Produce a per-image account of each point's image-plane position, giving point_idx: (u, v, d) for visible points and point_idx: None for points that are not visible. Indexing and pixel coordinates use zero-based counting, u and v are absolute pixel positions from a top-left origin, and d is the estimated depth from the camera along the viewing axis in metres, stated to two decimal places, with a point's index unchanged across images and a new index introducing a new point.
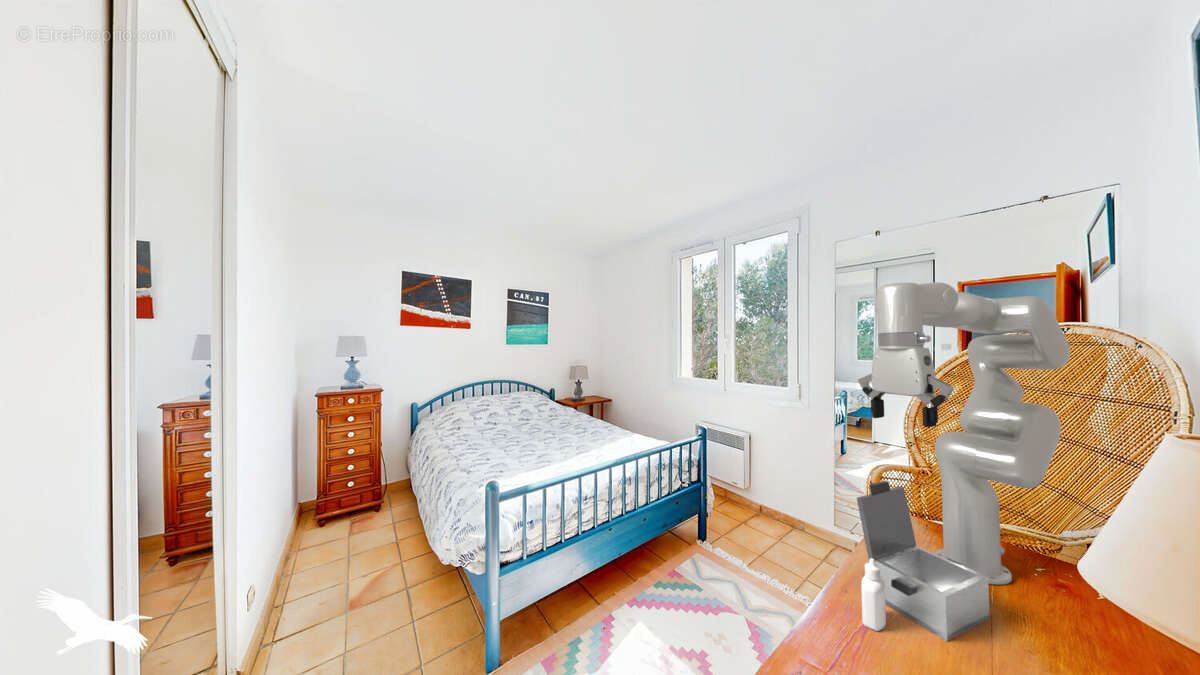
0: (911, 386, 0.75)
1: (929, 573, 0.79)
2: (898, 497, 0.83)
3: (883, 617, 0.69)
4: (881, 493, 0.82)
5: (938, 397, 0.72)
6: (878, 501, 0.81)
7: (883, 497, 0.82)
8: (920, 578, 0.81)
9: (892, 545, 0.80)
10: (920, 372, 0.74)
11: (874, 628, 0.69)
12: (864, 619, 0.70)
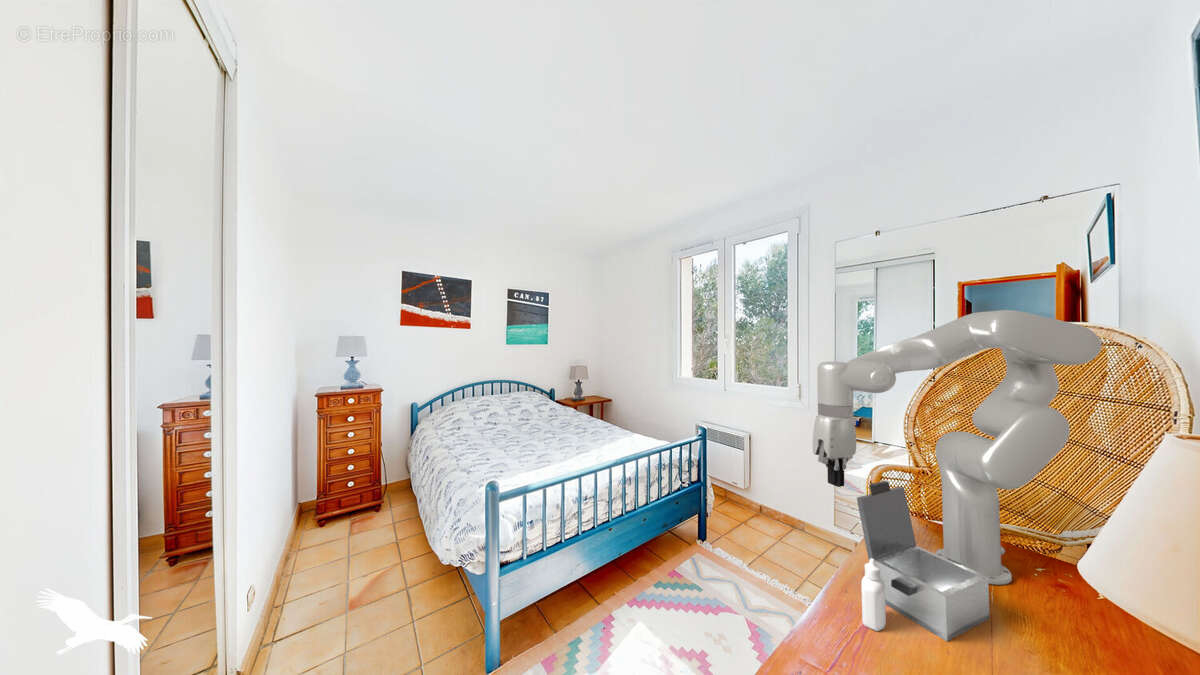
0: (852, 448, 0.91)
1: (929, 573, 0.79)
2: (898, 497, 0.83)
3: (883, 617, 0.69)
4: (881, 493, 0.82)
5: None
6: (878, 501, 0.81)
7: (883, 497, 0.82)
8: (920, 578, 0.81)
9: (892, 545, 0.80)
10: (855, 436, 0.92)
11: (874, 628, 0.69)
12: (864, 619, 0.70)
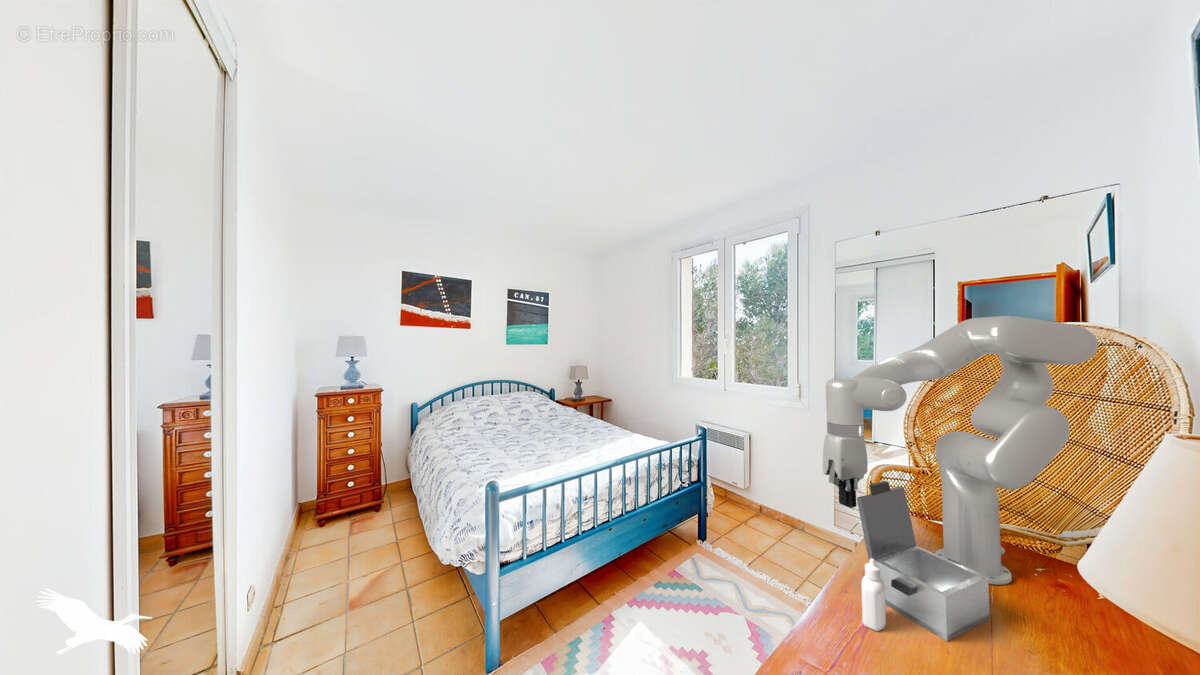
0: (863, 468, 0.89)
1: (929, 573, 0.79)
2: (898, 497, 0.83)
3: (883, 617, 0.69)
4: (881, 493, 0.82)
5: None
6: (878, 501, 0.81)
7: (883, 497, 0.82)
8: (920, 578, 0.81)
9: (892, 545, 0.80)
10: (866, 455, 0.90)
11: (874, 628, 0.69)
12: (864, 619, 0.70)
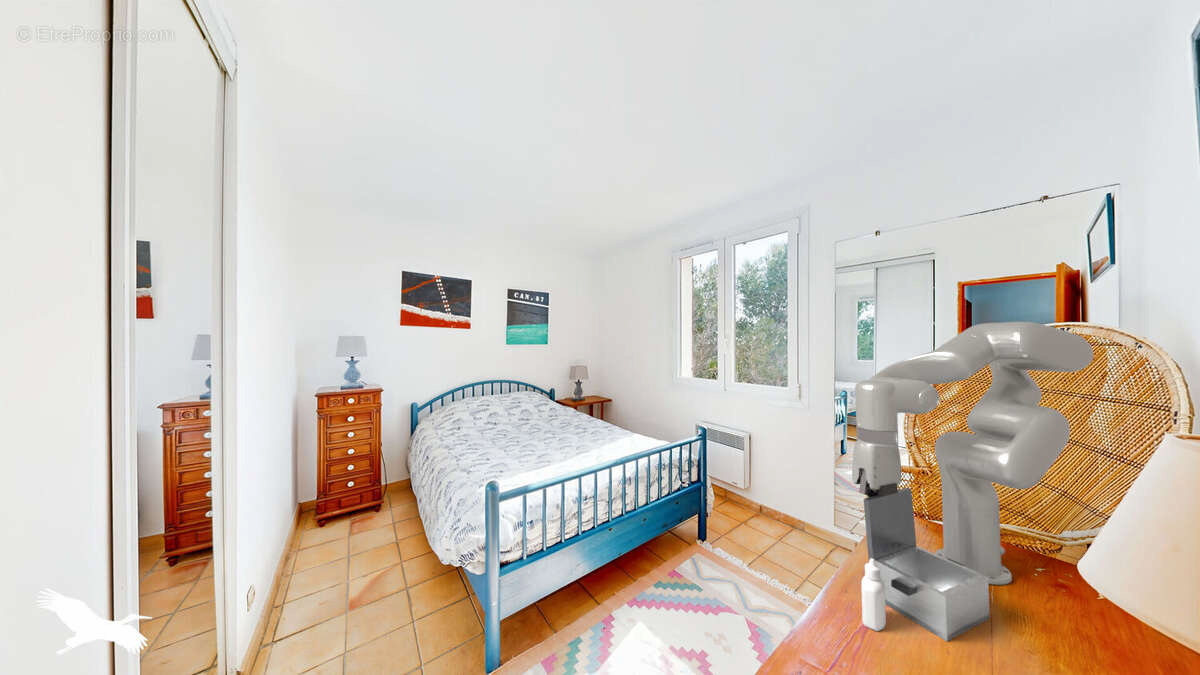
0: (897, 477, 0.82)
1: (929, 573, 0.79)
2: (904, 498, 0.82)
3: (883, 617, 0.69)
4: (888, 495, 0.80)
5: None
6: (884, 503, 0.80)
7: (890, 499, 0.81)
8: (920, 578, 0.81)
9: (893, 545, 0.80)
10: (900, 463, 0.83)
11: (874, 628, 0.69)
12: (864, 619, 0.70)
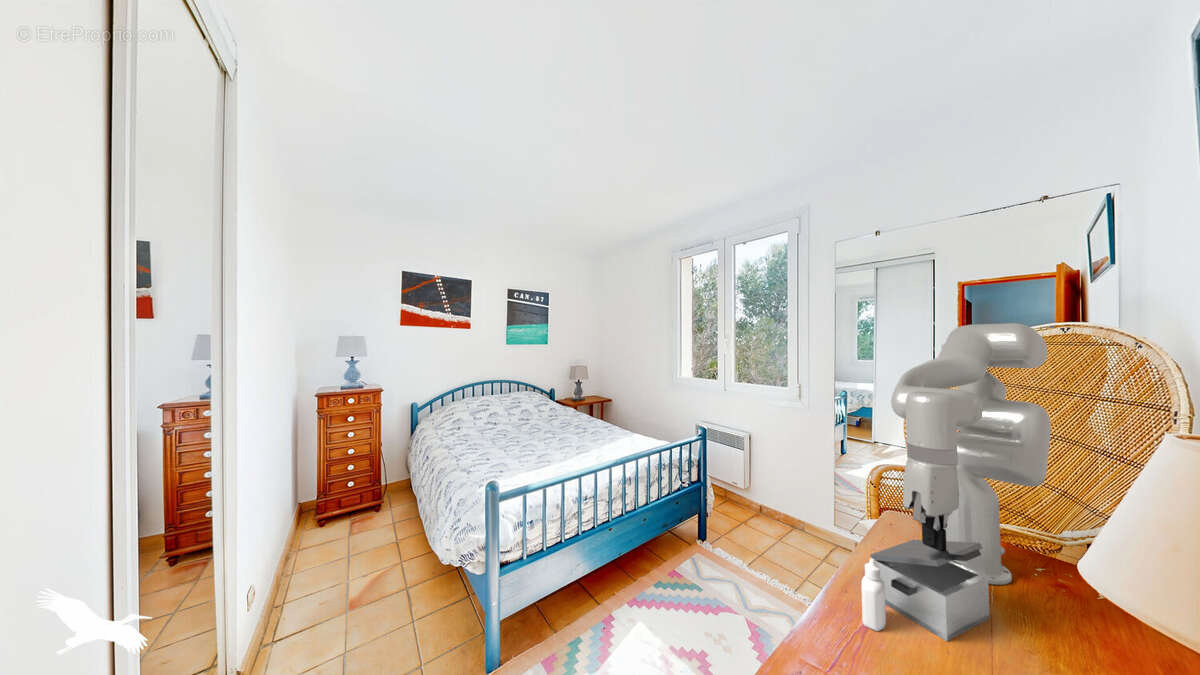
0: (955, 502, 0.72)
1: (929, 573, 0.79)
2: None
3: (883, 617, 0.69)
4: None
5: None
6: None
7: None
8: (920, 578, 0.81)
9: None
10: (958, 485, 0.73)
11: (874, 628, 0.69)
12: (864, 619, 0.70)
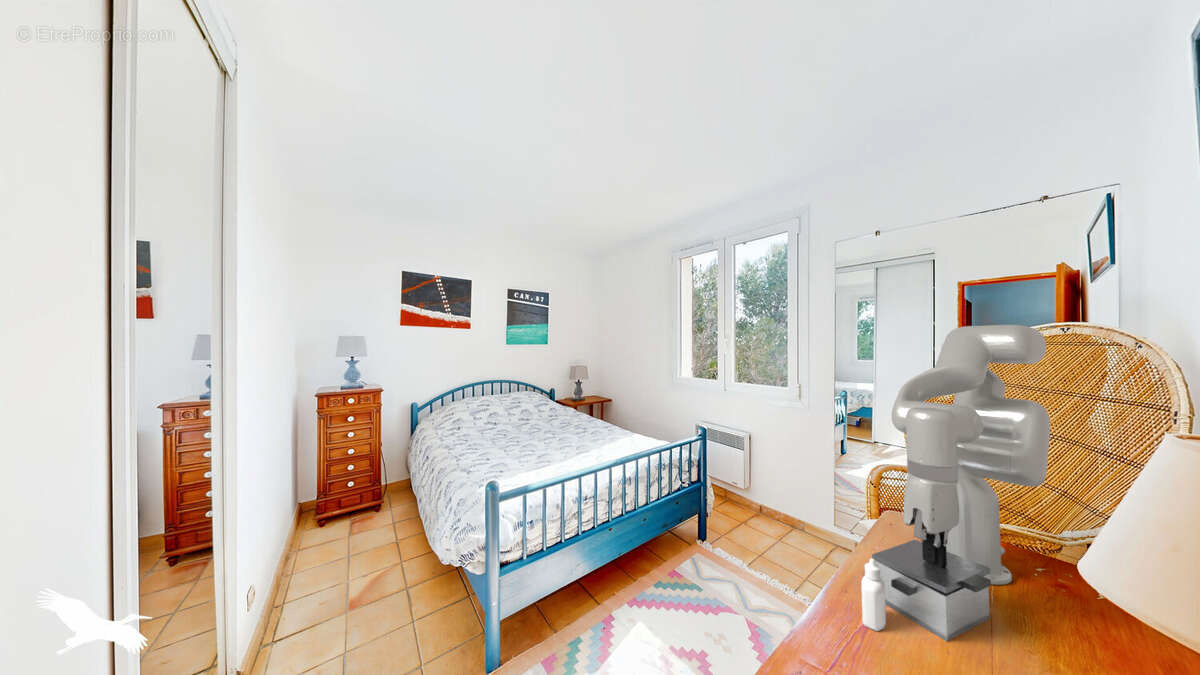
0: (955, 518, 0.72)
1: None
2: None
3: (883, 617, 0.69)
4: None
5: None
6: None
7: None
8: None
9: None
10: (958, 501, 0.73)
11: (874, 628, 0.69)
12: (864, 619, 0.70)
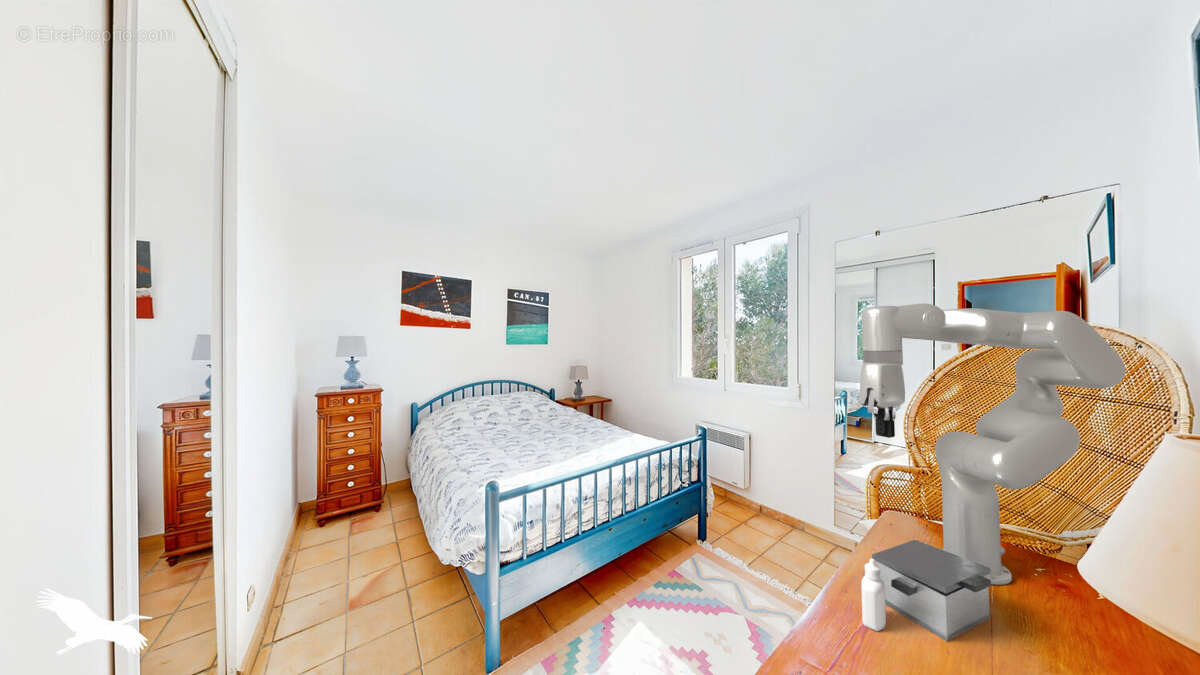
0: (902, 397, 0.86)
1: None
2: None
3: (883, 617, 0.69)
4: None
5: None
6: None
7: None
8: None
9: None
10: (903, 384, 0.87)
11: (874, 628, 0.69)
12: (864, 619, 0.70)
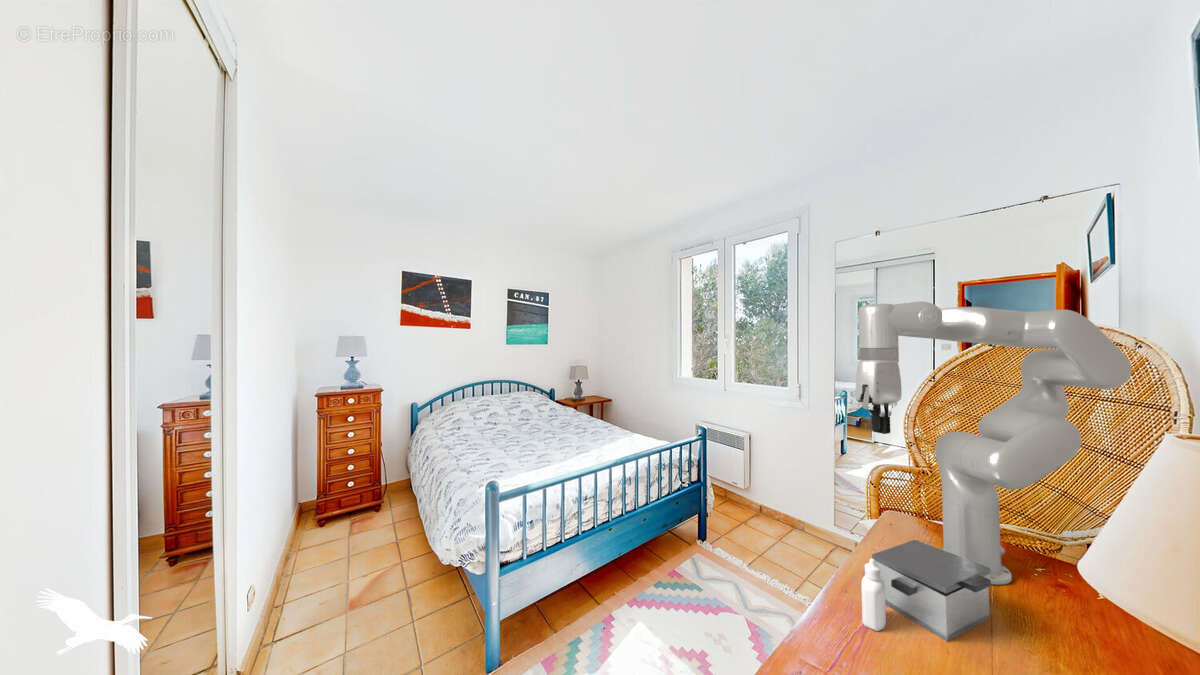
0: (898, 394, 0.87)
1: None
2: None
3: (883, 617, 0.69)
4: None
5: None
6: None
7: None
8: None
9: None
10: (900, 381, 0.88)
11: (874, 628, 0.69)
12: (864, 619, 0.70)
